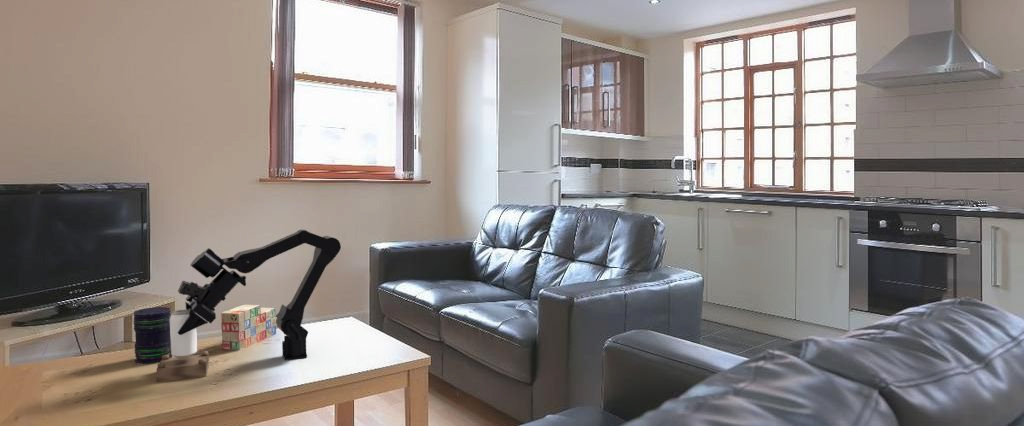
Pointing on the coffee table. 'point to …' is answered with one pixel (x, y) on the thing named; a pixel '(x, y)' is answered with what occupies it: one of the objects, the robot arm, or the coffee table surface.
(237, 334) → the stack of blocks
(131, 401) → the coffee table surface
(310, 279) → the robot arm
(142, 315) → the storage jar
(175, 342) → the can
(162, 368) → the base brick
